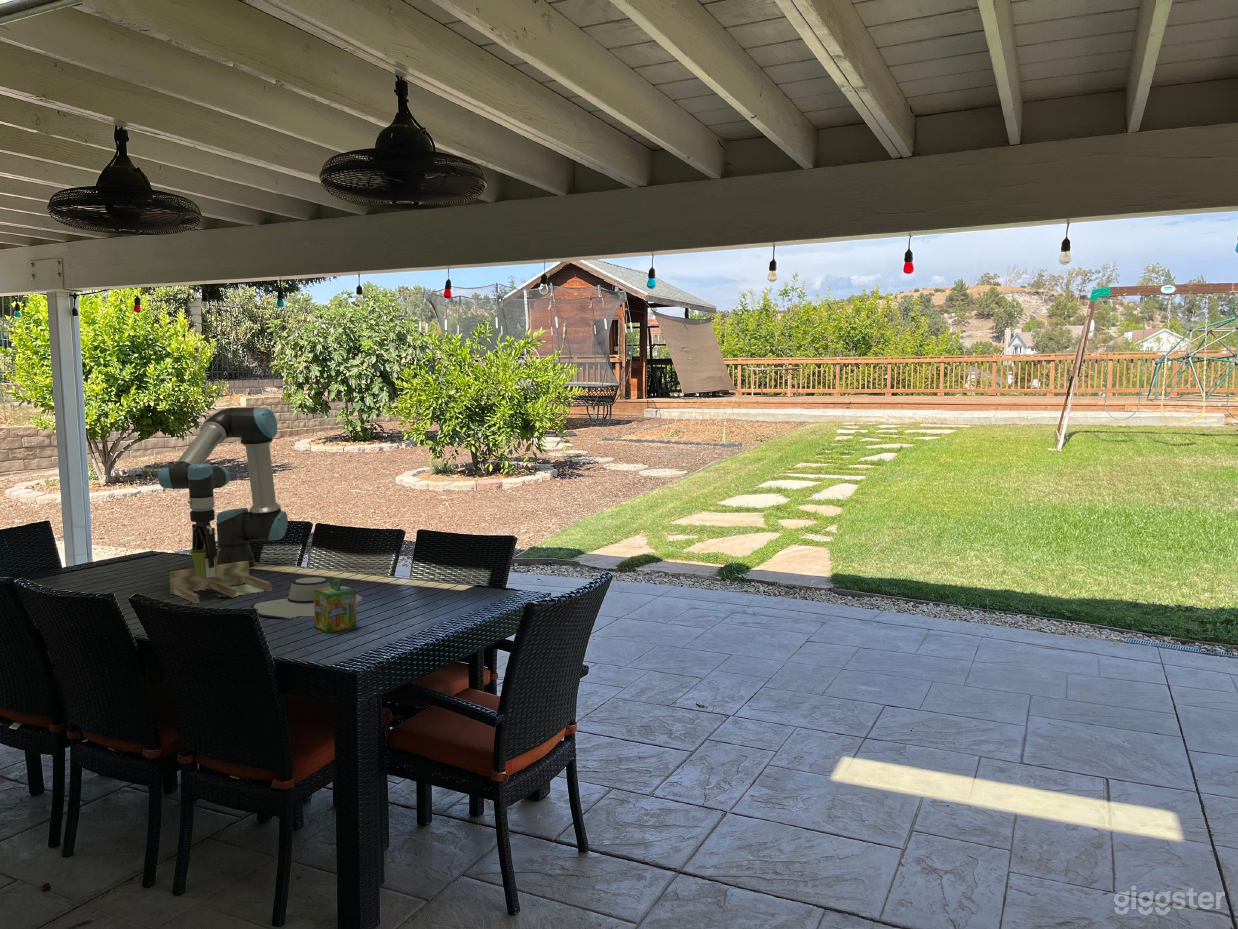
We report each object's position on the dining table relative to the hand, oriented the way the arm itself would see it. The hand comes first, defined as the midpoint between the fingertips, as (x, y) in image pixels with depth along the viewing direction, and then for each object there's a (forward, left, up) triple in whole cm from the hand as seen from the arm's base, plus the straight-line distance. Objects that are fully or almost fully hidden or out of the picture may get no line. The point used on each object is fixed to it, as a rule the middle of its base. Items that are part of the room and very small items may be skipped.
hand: (205, 574), depth 295 cm
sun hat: (-19, +38, -8) cm, 43 cm away
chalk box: (-11, +70, -8) cm, 71 cm away
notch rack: (-6, -1, -8) cm, 10 cm away
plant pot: (0, 0, -1) cm, 1 cm away
